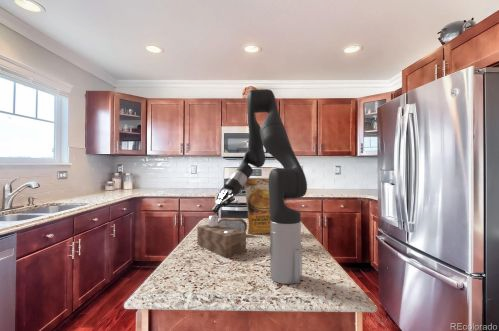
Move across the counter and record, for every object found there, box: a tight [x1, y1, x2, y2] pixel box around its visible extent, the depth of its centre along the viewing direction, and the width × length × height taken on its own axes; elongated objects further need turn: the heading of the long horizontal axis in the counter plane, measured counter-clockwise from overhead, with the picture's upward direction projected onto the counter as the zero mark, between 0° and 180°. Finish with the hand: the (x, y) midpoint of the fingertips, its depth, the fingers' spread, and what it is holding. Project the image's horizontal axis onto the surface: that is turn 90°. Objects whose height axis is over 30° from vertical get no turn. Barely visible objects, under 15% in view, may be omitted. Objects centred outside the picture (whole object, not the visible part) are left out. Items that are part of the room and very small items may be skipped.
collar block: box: [196, 224, 247, 259], centre depth 105 cm, size 21×10×8 cm, turn 41°
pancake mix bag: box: [244, 178, 270, 235], centre depth 131 cm, size 7×19×28 cm, turn 103°
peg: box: [208, 215, 219, 228], centre depth 109 cm, size 4×4×8 cm
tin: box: [218, 217, 248, 232], centre depth 126 cm, size 15×3×8 cm, turn 84°
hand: (213, 211), depth 109 cm, fingers closed
